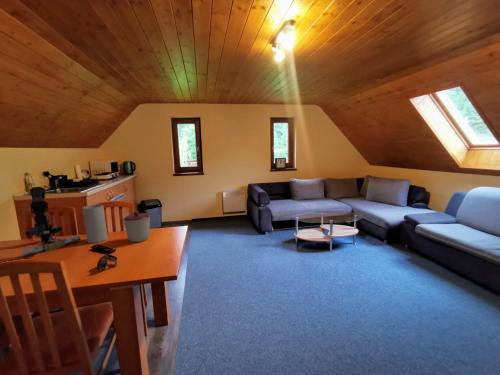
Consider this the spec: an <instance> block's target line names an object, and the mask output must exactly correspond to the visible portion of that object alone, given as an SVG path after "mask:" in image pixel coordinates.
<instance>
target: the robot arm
mask: <svg viewBox="0 0 500 375" xmlns="http://www.w3.org/2000/svg"><path fill="white" fill-rule="evenodd" d="M28 191H29V192H28V193H29V196H30V197H31V203H29V204H30V212H31V214H33V215H34V217H33V219H34V222H35V223H34V225H33V227H31V229H28V230H26V231H25V233H24V234H25V236H26V237H27V236H28V237H29V236H32V237H33V236H35V237H39V238H40V241H39V243H40V242H42V241H44V242H45V243H46V244H48V241H49V238H50V237H51V236H52V234H57V233H59V232H61V231H63V228H62V227H61V226H53V225H52V224H50V223H51V222H50V220H49V219H48V216H47V212H48V210H49V204H48V203H49V202H47V201H46V200H45V198H46V194H47V193H46V188H45V187H42V186H33V187H31V188H30V189H28ZM50 241H51V240H50Z"/></svg>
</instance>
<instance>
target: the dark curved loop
mask: <svg viewBox="0 0 500 375" xmlns="http://www.w3.org/2000/svg"><path fill="white" fill-rule="evenodd" d="M108 262H110V263H114V267H117V266H118V257H117V256H116V255H112V254H109V253H104V254H103V256H101V257H100V258H99V259H98V261H97V264H96V271H98V272H100V271H104V270H106V267H107V264H108Z"/></svg>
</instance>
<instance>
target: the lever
mask: <svg viewBox="0 0 500 375" xmlns="http://www.w3.org/2000/svg"><path fill="white" fill-rule="evenodd" d="M52 239H54V240H56V236H55V235H51V237H50V238H49V241H50V240H52ZM49 241H48V242H49ZM44 244H46V243H45V242H44V241H42V242H40V241H39V242H38V243H37V246H43V245H44Z"/></svg>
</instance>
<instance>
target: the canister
mask: <svg viewBox="0 0 500 375" xmlns="http://www.w3.org/2000/svg"><path fill="white" fill-rule="evenodd" d="M150 218H151V215H150V214H149V213H145V212H140V211H138V210H134V211H133V214H129V215H126V216H125V217H124V218H122V222H123V223H124V228H125V232H126V236H127V238H128V240H129V241H130V242H131V243H140V242H145V241H146V240H148V239H149V238H150V230H151V229H150V228H151V227H150V224H151V222H150V221H151V219H150Z"/></svg>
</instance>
